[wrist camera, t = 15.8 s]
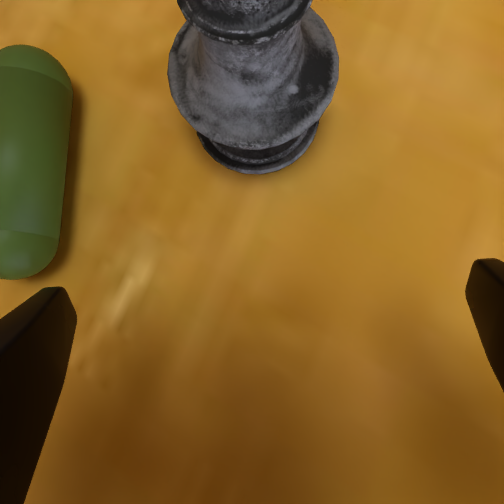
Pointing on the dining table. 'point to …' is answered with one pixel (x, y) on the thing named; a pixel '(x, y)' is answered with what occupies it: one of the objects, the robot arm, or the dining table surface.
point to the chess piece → (253, 79)
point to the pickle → (31, 157)
